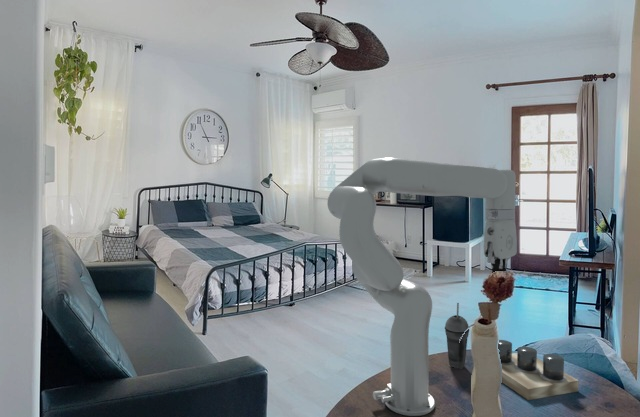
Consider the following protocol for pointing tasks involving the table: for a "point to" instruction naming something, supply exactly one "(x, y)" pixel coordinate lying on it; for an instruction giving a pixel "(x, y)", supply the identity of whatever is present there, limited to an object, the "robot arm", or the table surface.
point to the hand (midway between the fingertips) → (499, 281)
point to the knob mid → (527, 358)
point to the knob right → (553, 366)
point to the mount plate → (535, 381)
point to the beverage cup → (456, 339)
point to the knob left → (505, 351)
